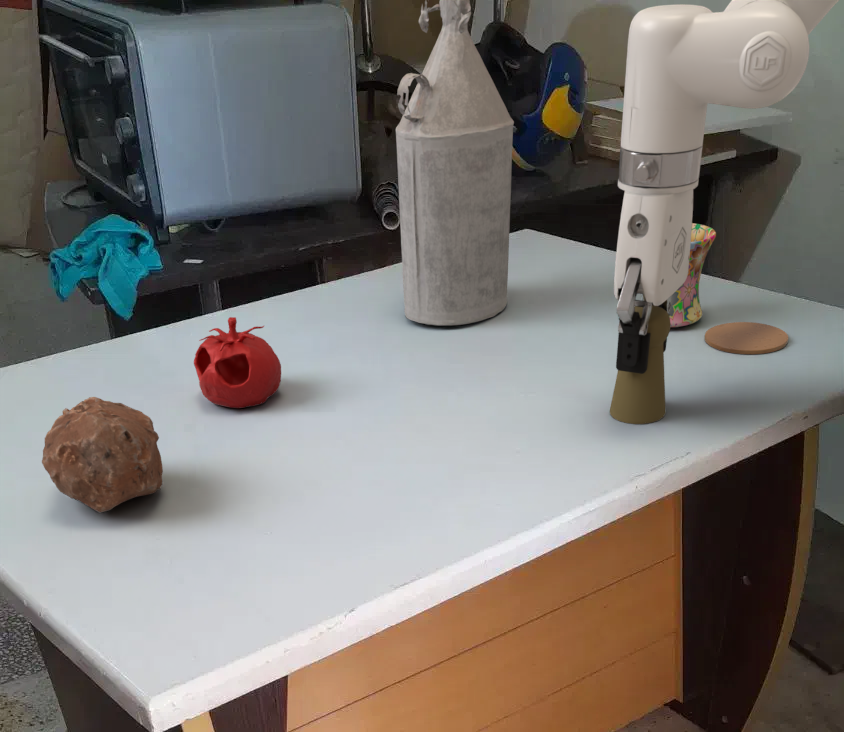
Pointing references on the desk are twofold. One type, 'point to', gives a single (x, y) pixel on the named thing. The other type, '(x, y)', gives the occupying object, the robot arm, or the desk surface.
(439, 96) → the canister
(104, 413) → the decorative rock
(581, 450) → the desk surface
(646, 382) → the pepper shaker
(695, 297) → the mug
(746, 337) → the coaster
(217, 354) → the hollow red tomato
